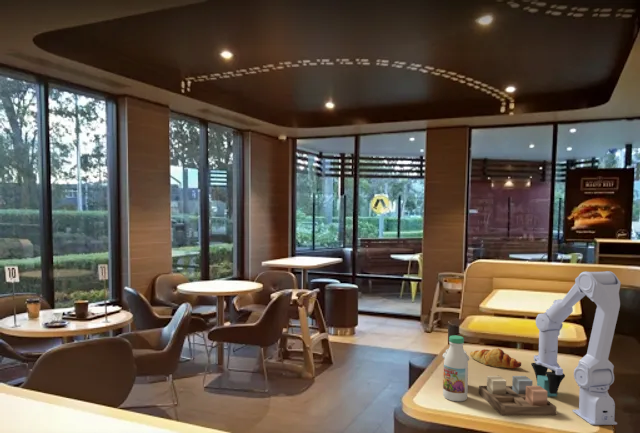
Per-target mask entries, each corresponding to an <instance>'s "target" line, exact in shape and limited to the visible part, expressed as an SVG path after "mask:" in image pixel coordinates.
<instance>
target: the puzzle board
mask: <svg viewBox="0 0 640 433" xmlns="http://www.w3.org/2000/svg"><path fill="white" fill-rule="evenodd" d="M478 394H479V395H480V396H481V397H482V398H483V399H484V400H485V401H486V402H487V403H488V404H490V406H491V407H492V408H493V409H494V410H496V412H498V413H499V414H500V415H501V416H556V415H557V406H556V405H555V404H553V403H552V402H551V401H549V400H548V396H547V391H546V390H545V389H543V388H542V387H541V386H537V385H533V380H532V379H530V378H529V377H528V376H526V375H512V383H511V385H507V380H506V379H505V378H503V377H502V376H501V375H487V376H486V385H479V386H478Z"/></svg>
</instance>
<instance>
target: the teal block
mask: <svg viewBox="0 0 640 433" xmlns="http://www.w3.org/2000/svg"><path fill="white" fill-rule="evenodd" d="M536 386H541V387H542V388H543V389H545V390H546V391H547V397H558V393H557V394H551V393H550V392H549V382H548V378H547V375H537V379H536Z"/></svg>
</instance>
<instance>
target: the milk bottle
mask: <svg viewBox="0 0 640 433" xmlns="http://www.w3.org/2000/svg"><path fill="white" fill-rule="evenodd" d="M448 338H449V339H448V340H449V343H448V344H449V348H448V349H449V350H448V352H447V354H446V356H445V359H444V358H443V359H444V360H443V375H442V377H443V379H442V396H443V397H444V398H445V399H447V400H448V401H452V402H465V401H467V399H468V393H469V392H468V390H469V389H468V387H469V386H468V384H469V364H468V363H469V361H467V357H466V355H465V352H464V351H465V350H464V344H465V339H464V337H463V336H461V335H455V334H454V335H449V337H448Z"/></svg>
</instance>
